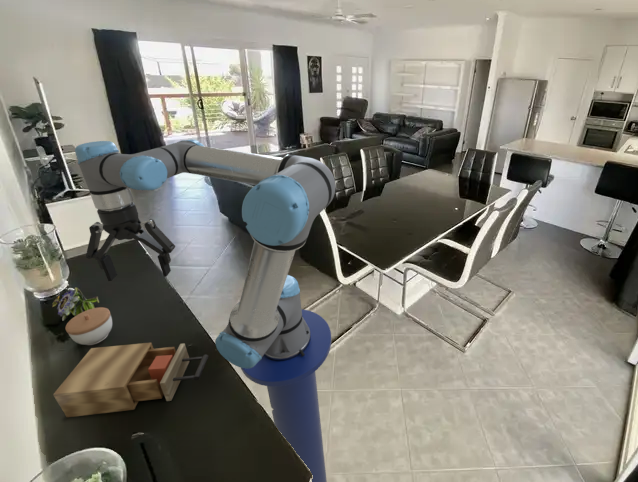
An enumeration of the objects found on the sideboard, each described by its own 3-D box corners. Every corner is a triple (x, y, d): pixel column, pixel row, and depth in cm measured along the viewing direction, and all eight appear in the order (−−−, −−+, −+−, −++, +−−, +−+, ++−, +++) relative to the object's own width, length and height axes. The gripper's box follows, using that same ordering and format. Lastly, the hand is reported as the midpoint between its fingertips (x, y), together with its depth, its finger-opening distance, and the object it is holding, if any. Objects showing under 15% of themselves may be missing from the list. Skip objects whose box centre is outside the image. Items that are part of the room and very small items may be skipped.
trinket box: (116, 341, 102) (106, 318, 98) (72, 357, 96) (60, 333, 93) (117, 320, 110) (108, 298, 106) (77, 334, 104) (65, 311, 101)
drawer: (214, 357, 95) (209, 340, 93) (198, 397, 84) (193, 379, 81) (137, 365, 93) (129, 348, 90) (110, 407, 82) (101, 389, 79)
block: (177, 370, 90) (172, 354, 88) (170, 383, 86) (164, 368, 84) (162, 371, 90) (156, 356, 87) (154, 385, 86) (147, 369, 84)
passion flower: (72, 330, 113) (47, 304, 111) (106, 307, 120) (83, 282, 118) (70, 329, 105) (43, 301, 103) (107, 305, 112) (83, 279, 110)
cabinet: (159, 363, 94) (151, 342, 91) (134, 409, 82) (123, 386, 79) (101, 369, 92) (91, 348, 89) (66, 417, 80) (52, 394, 77)
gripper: (176, 196, 84) (194, 264, 93) (69, 201, 81) (98, 271, 89) (163, 208, 77) (184, 280, 86) (46, 214, 74) (80, 288, 82)
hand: (140, 275), depth 88 cm, fingers open, 13 cm apart
